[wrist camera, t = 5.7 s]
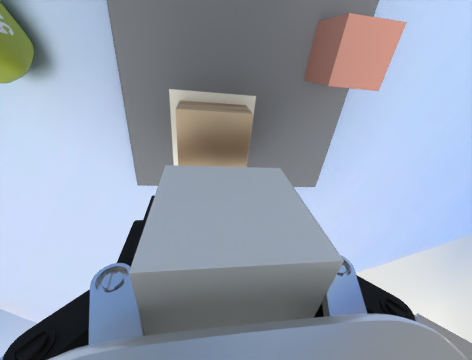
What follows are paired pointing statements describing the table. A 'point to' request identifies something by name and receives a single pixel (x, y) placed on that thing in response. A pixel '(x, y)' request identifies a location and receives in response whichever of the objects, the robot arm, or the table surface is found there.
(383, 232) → the table surface
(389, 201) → the table surface
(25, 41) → the dumbbell
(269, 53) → the grey mat
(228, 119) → the oak base
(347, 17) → the red cube
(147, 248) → the grey cube
